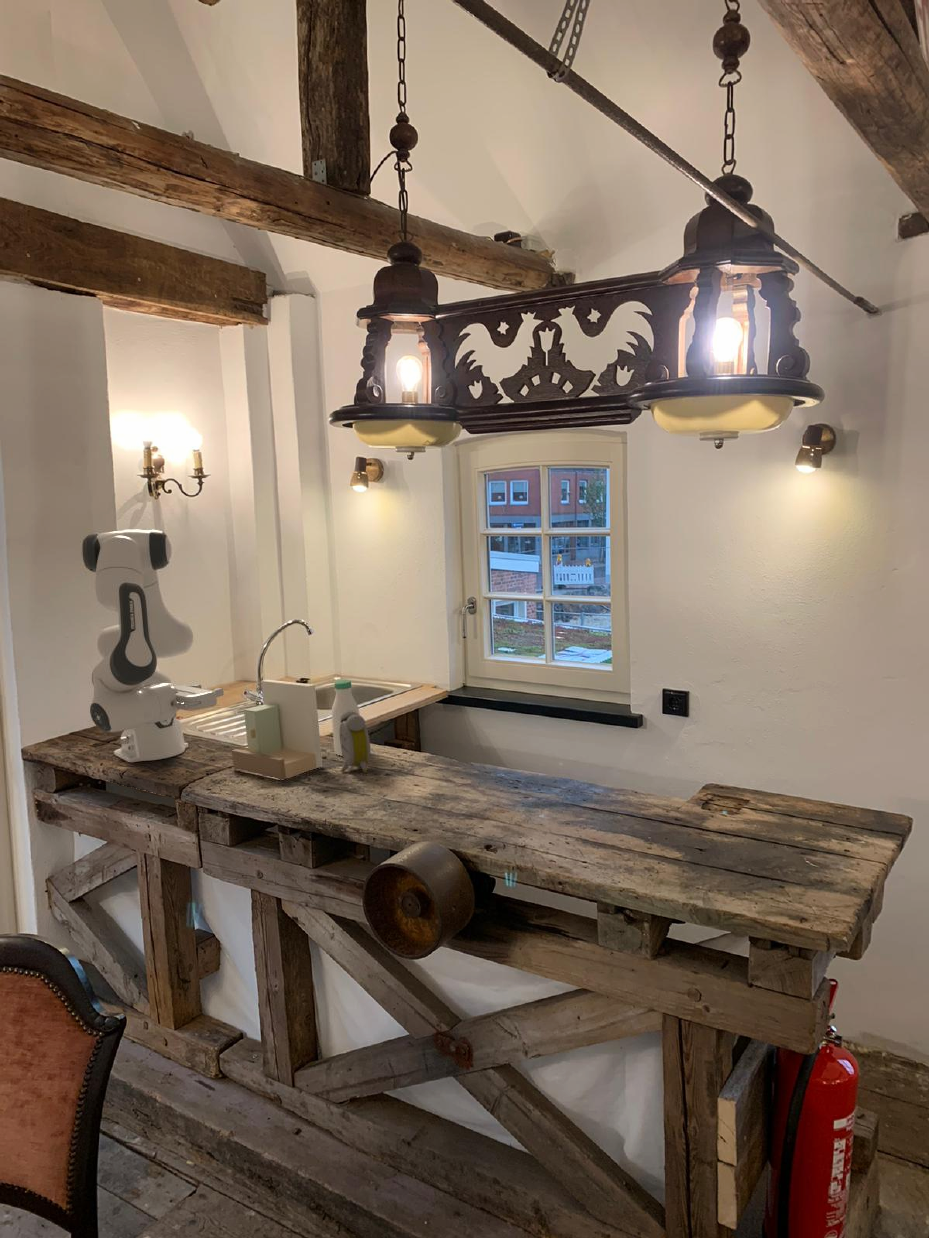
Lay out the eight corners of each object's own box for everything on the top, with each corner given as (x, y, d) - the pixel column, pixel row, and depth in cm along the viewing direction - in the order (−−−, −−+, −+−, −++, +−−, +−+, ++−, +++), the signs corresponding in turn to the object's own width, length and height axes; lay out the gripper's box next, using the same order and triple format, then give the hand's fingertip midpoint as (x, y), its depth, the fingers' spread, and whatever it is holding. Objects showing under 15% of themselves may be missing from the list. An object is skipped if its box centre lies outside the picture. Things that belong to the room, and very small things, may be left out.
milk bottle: (360, 755, 236) (354, 683, 233) (332, 757, 236) (326, 685, 233) (364, 748, 243) (358, 678, 241) (337, 749, 243) (331, 680, 241)
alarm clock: (373, 773, 218) (368, 715, 216) (346, 778, 216) (341, 719, 214) (361, 762, 229) (356, 707, 227) (335, 767, 226) (330, 710, 225)
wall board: (233, 770, 230) (225, 689, 227) (274, 757, 240) (267, 679, 237) (281, 781, 217) (272, 695, 214) (322, 767, 227) (314, 684, 224)
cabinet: (245, 754, 230) (240, 710, 228) (270, 747, 236) (265, 704, 234) (256, 757, 226) (252, 712, 225) (281, 749, 232) (277, 705, 231)
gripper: (184, 693, 201) (234, 681, 211) (137, 684, 214) (186, 673, 224) (187, 720, 202) (236, 706, 212) (140, 709, 215) (189, 697, 225)
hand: (210, 689), depth 218 cm, fingers open, 8 cm apart
